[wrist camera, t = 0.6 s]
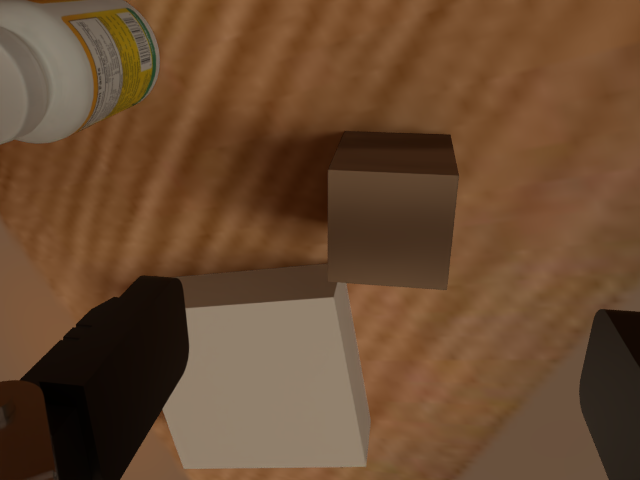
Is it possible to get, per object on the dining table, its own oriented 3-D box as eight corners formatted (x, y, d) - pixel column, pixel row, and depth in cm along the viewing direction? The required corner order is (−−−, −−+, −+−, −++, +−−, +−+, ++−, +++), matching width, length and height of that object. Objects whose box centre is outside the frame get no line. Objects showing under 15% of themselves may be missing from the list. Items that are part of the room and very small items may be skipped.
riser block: (158, 275, 33) (127, 312, 30) (343, 258, 31) (333, 297, 27) (205, 421, 38) (184, 468, 34) (371, 416, 35) (366, 466, 32)
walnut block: (345, 130, 28) (327, 169, 22) (450, 134, 27) (458, 175, 22) (343, 225, 30) (327, 281, 24) (441, 230, 29) (447, 290, 24)
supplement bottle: (180, 33, 27) (69, 64, 18) (138, 127, 29) (22, 194, 21) (78, -33, 26) (-86, -33, 18) (43, 69, 29) (-117, 113, 20)
